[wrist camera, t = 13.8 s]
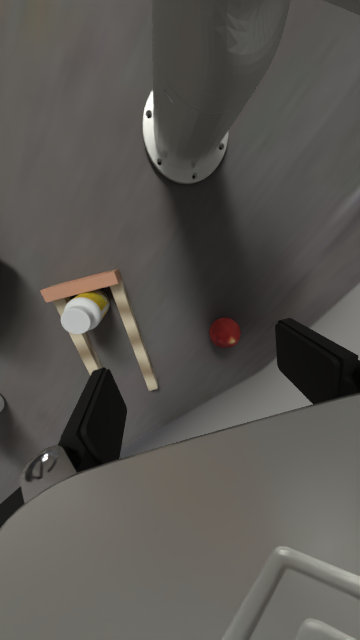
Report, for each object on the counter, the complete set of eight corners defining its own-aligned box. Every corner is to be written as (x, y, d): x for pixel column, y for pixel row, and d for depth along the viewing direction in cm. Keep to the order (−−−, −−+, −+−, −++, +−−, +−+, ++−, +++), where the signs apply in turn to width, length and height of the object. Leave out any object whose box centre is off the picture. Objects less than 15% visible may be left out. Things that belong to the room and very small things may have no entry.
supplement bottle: (78, 286, 36) (53, 301, 27) (110, 289, 37) (96, 305, 28) (80, 314, 38) (56, 337, 29) (109, 317, 39) (96, 340, 29)
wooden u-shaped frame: (52, 285, 35) (40, 290, 32) (118, 268, 35) (114, 271, 32) (106, 396, 45) (102, 410, 41) (157, 382, 45) (158, 395, 42)
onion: (224, 341, 43) (238, 361, 36) (200, 332, 42) (210, 351, 35) (237, 318, 42) (254, 334, 34) (213, 308, 40) (226, 322, 33)
